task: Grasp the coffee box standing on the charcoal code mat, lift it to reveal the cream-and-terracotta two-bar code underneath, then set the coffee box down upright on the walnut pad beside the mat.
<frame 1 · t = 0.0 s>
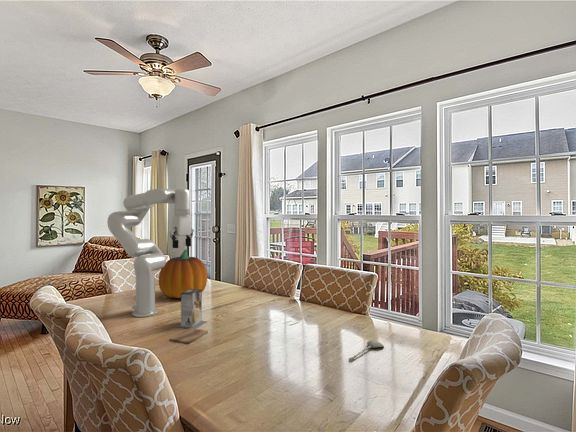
hand: (182, 247, 159), 37 cm above the table, tool pointing down, fingers open, 9 cm apart
decorative pumpkin: (183, 296, 204), on the table
code mat: (191, 324, 152), on the table
soupspoon: (365, 353, 123), on the table
coffee box: (191, 324, 152), resting on code mat
walnut pad: (189, 336, 137), on the table
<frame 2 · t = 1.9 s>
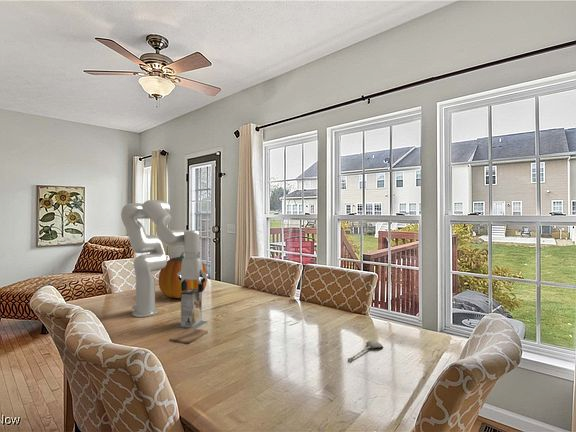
hand: (192, 291, 152), 16 cm above the table, tool pointing down, fingers open, 9 cm apart
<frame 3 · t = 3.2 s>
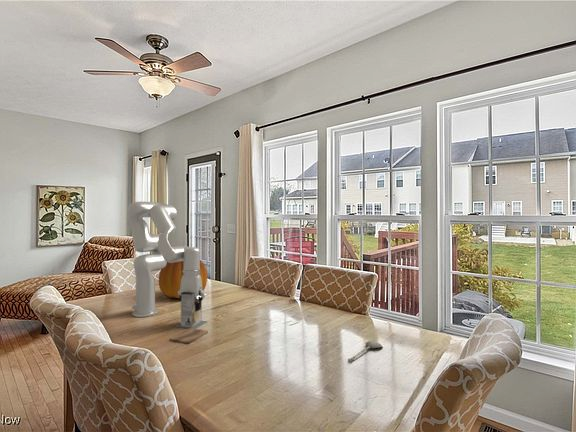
hand: (191, 309, 152), 7 cm above the table, tool pointing down, fingers closed on coffee box, 7 cm apart
coffee box: (191, 324, 152), resting on code mat, touching gripper
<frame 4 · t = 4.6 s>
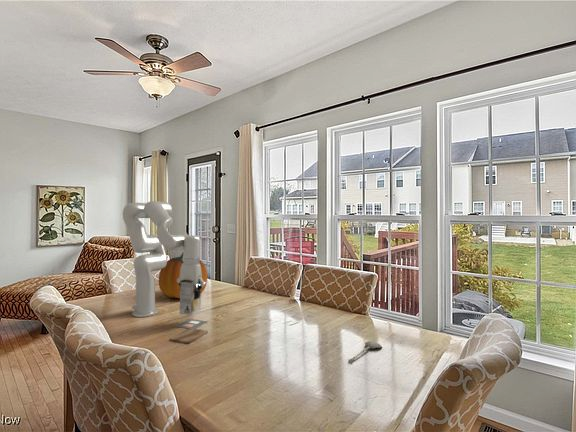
hand: (190, 297, 152), 13 cm above the table, tool pointing down, fingers closed on coffee box, 7 cm apart
coffee box: (190, 312, 152), point 6 cm above the table, touching gripper
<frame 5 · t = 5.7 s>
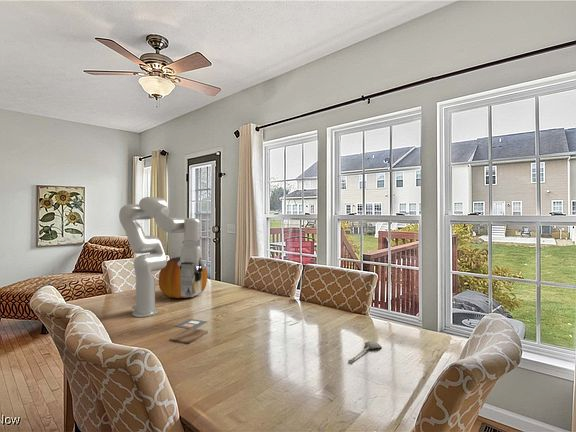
hand: (191, 279, 152), 22 cm above the table, tool pointing down, fingers closed on coffee box, 7 cm apart
coffee box: (191, 294, 152), point 14 cm above the table, touching gripper
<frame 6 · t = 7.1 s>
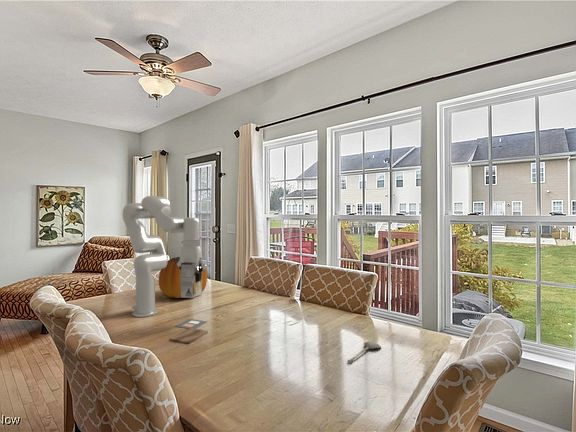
hand: (191, 280, 149), 22 cm above the table, tool pointing down, fingers closed on coffee box, 7 cm apart
coffee box: (191, 295, 149), point 15 cm above the table, touching gripper
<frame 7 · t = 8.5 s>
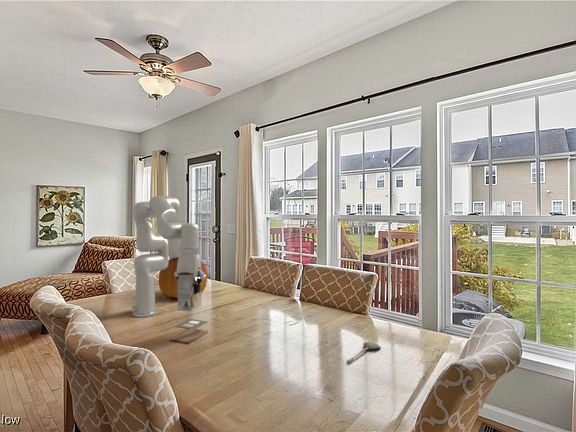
hand: (189, 292, 137), 19 cm above the table, tool pointing down, fingers closed on coffee box, 7 cm apart
coffee box: (189, 308, 137), point 12 cm above the table, touching gripper
when the fingers open (9 cm above the table, at t = 10.7 s): coffee box drops 1 cm, resting on walnut pad.
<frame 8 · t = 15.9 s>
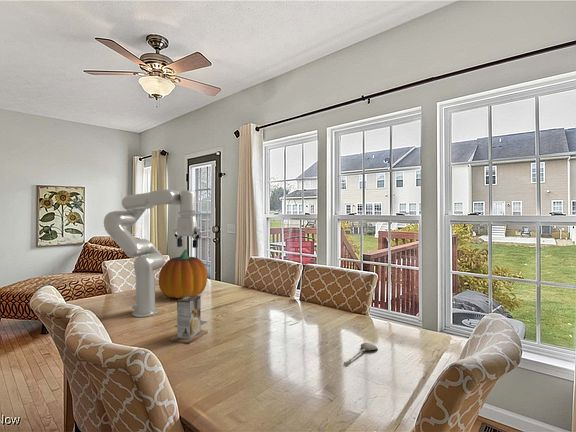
hand: (187, 247, 162), 36 cm above the table, tool pointing down, fingers open, 9 cm apart
soupspoon: (360, 356, 120), on the table
coffee box: (189, 334, 137), point 1 cm above the table, touching walnut pad
everything else where it was.
at the end: coffee box inside the target area on the walnut pad (0.2 cm from its centre), point 0.6 cm above the walnut pad's base; coffee box tilted 0°; the gripper is holding nothing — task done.
